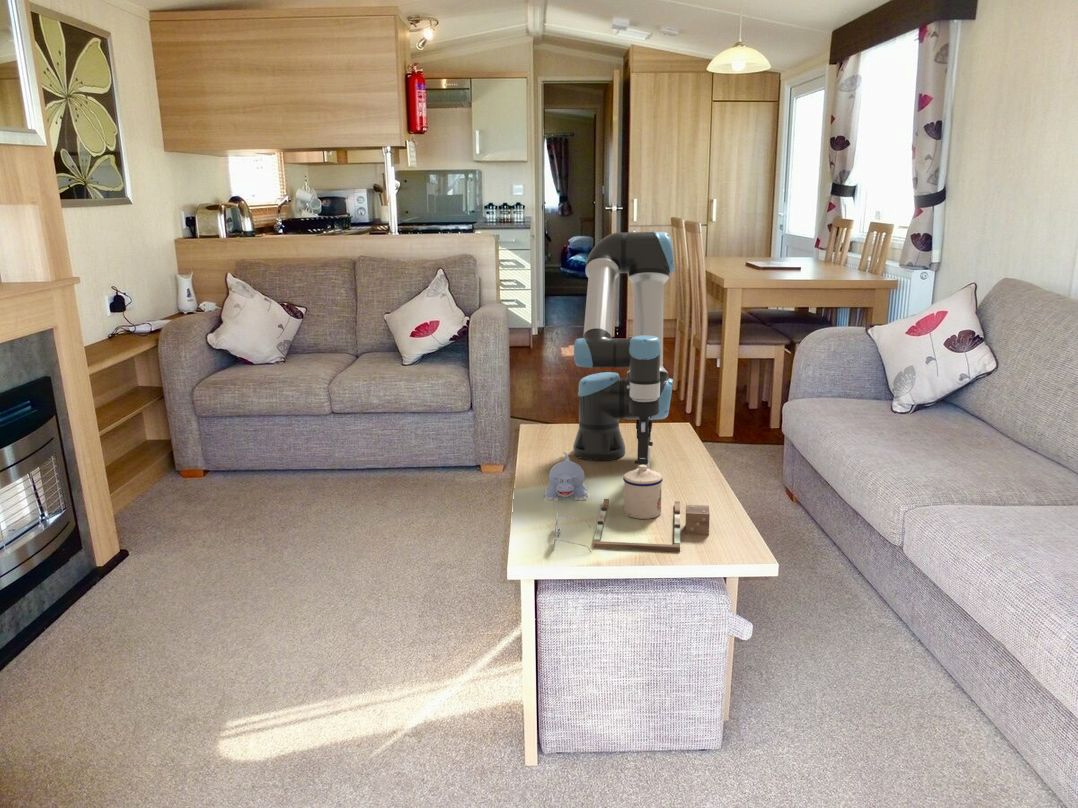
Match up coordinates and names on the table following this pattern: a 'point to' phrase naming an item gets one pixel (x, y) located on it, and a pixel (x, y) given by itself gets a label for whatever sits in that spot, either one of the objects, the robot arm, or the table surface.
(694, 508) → the die
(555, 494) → the hippopotamus toy
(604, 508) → the track
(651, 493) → the teacup with lid
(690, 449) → the table surface
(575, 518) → the sunglasses
